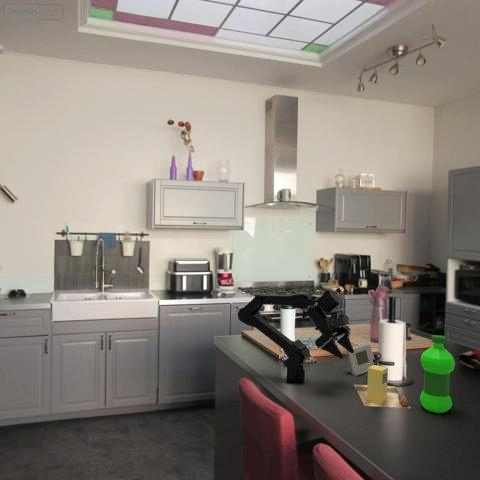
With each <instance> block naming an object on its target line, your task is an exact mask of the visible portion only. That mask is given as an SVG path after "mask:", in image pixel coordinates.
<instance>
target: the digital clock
mask: <svg viewBox="0 0 480 480" xmlns="http://www.w3.org/2000/svg"><path fill="white" fill-rule="evenodd" d="M352 347H353V350H354V353H350V352H349V351H348V350H346V357H347V361H346V372H347V373H350V374H351V375H352V376H353V377H357V376H358V377H359V376H362V375H363V374H368V368H369V367H371V366H373V365H374V362H373V359H374V360H375V357H374V353H373V349H372V347H371V345H370V343H369V342H367V343H362V344H358V345H355V346H352Z"/></svg>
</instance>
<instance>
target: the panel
mask: <svg viewBox="0 0 480 480" xmlns="http://www.w3.org/2000/svg"><path fill="white" fill-rule="evenodd" d="M353 386H354V388H355V390H356V392H357V394H358V396H359V397H360V400H361V401H362V403H363V406H364V407H380V408H397V409H398V408H399V409H401V408H402V409H411V406H410V405H409V406H408V407H404V406H403V405H402V404H401V402H400V401H399V399H398V397H399V395H398V394H397V392H399V390H398V389H397V388H396V386H395V385H394V386H393V385H392V386H391V385H387V401H386V402H384V403H383V404H381V405H379V404H376V403H372V402H368V401H367V384H353ZM399 394H400V395H402V394H401V393H400V392H399Z"/></svg>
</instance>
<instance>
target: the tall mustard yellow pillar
mask: <svg viewBox="0 0 480 480" xmlns="http://www.w3.org/2000/svg"><path fill="white" fill-rule="evenodd" d="M388 375H389V367H386V366H382V365H377V364H376V365H373V366H371V367H369V368H368V372H367V384H366V385H367V401H368V402H372V403H376V404H379V405H381V404H383V403H384V402H386V401H387V386H388V379H389V377H388Z"/></svg>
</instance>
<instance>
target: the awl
mask: <svg viewBox="0 0 480 480" xmlns="http://www.w3.org/2000/svg"><path fill="white" fill-rule="evenodd" d="M399 393H400V391H398V392H397V394H398V395H399V397H398V399H399V401H400V402H401V404H402V405H403V406H404V407H408V406H410V401H409V400H408V399H407V398H406V396H405V395H404V394H401V393H400V394H401V395H400V394H399Z"/></svg>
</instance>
